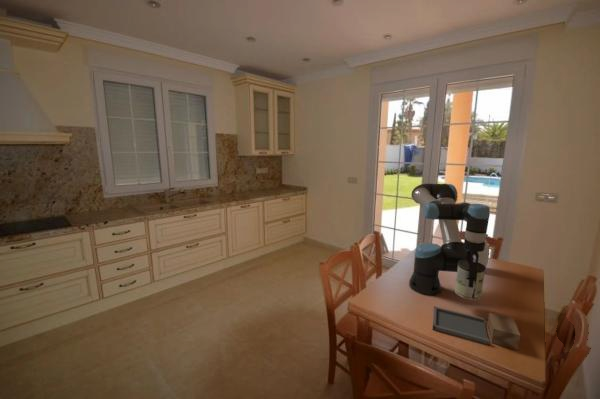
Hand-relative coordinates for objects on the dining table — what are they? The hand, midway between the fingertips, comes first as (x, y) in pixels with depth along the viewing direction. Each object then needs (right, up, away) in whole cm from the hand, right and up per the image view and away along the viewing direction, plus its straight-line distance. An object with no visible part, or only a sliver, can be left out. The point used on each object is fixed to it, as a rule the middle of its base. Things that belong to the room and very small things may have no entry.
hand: (468, 287), depth 120 cm
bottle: (+31, -3, +41) cm, 51 cm away
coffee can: (0, -3, +1) cm, 4 cm away
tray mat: (-10, -13, -9) cm, 19 cm away
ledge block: (+3, -14, -16) cm, 21 cm away
